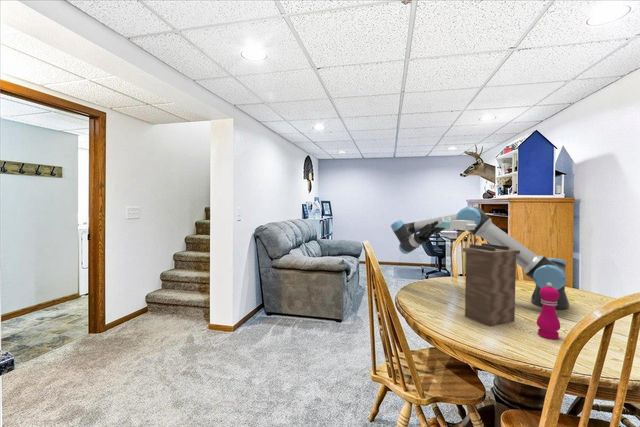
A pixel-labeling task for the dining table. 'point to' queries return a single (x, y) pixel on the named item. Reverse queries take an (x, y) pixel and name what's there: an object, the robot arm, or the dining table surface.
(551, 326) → the pepper mill
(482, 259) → the wood-grain storage bin
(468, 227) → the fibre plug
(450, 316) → the dining table surface
